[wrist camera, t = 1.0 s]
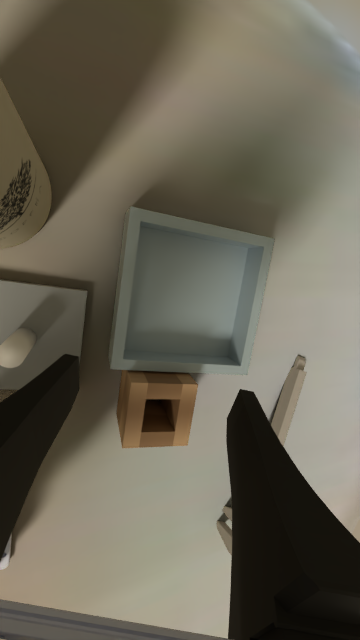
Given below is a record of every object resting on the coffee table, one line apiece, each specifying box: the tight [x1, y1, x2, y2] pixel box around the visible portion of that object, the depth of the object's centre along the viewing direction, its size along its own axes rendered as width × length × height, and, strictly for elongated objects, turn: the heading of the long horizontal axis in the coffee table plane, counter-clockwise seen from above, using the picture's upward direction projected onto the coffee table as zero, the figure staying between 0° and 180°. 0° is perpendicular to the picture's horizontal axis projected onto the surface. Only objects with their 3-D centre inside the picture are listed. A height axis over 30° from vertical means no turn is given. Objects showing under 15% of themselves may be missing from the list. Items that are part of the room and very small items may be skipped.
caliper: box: [217, 356, 307, 555], centre depth 28 cm, size 20×1×6 cm, turn 154°
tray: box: [108, 206, 275, 375], centre depth 24 cm, size 12×12×3 cm
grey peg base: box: [0, 279, 87, 390], centre depth 20 cm, size 8×8×5 cm
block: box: [116, 370, 198, 448], centre depth 23 cm, size 5×5×5 cm
